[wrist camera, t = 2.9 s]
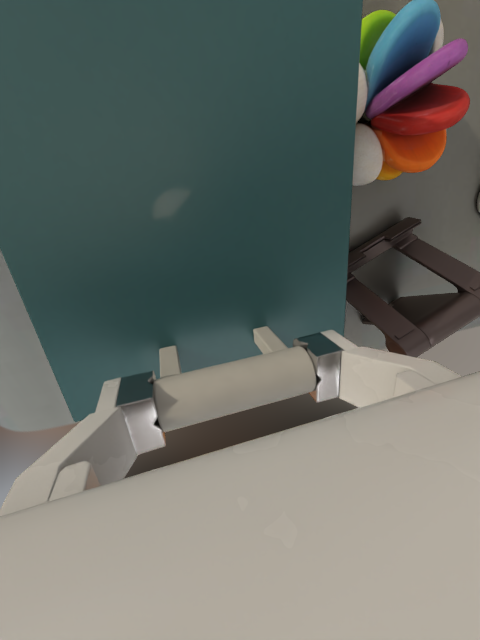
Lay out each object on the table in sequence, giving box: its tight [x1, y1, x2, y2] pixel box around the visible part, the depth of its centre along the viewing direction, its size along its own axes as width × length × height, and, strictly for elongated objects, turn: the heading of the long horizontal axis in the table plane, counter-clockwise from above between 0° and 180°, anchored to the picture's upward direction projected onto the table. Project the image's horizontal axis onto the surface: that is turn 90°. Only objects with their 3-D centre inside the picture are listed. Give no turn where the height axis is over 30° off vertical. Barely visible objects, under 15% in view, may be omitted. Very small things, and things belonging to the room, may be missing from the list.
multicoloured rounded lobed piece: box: [352, 0, 470, 186], centre depth 18 cm, size 8×10×7 cm
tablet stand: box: [346, 217, 480, 357], centre depth 23 cm, size 9×8×8 cm
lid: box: [0, 0, 363, 432], centre depth 8 cm, size 16×13×5 cm
